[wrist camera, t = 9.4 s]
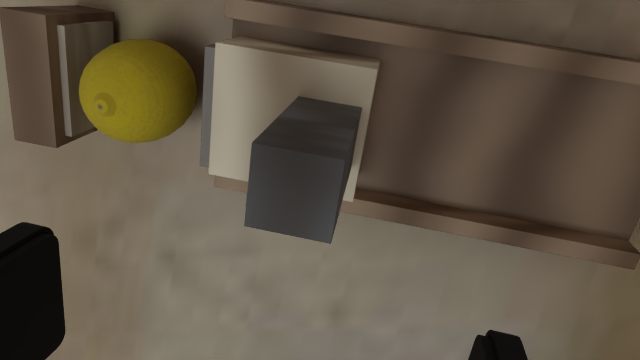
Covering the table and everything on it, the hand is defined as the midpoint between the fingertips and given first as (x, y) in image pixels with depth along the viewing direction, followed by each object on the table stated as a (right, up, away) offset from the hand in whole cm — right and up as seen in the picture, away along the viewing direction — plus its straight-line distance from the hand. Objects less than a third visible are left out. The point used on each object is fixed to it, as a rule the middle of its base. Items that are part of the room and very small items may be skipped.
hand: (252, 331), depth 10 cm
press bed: (+8, +7, +18) cm, 21 cm away
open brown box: (-13, +11, +20) cm, 26 cm away
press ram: (0, +8, +17) cm, 19 cm away
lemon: (-8, +10, +20) cm, 23 cm away
